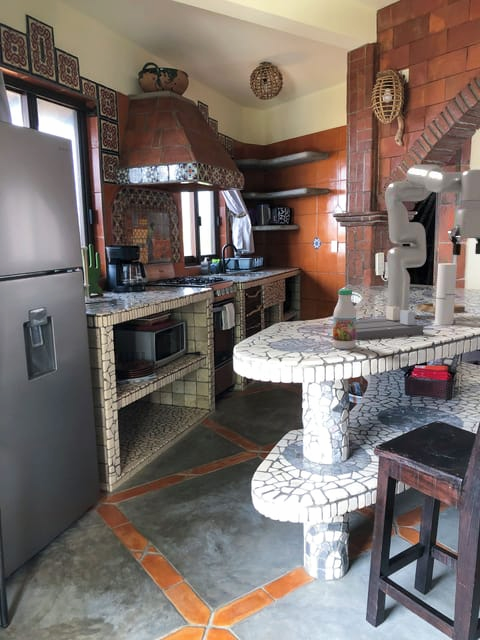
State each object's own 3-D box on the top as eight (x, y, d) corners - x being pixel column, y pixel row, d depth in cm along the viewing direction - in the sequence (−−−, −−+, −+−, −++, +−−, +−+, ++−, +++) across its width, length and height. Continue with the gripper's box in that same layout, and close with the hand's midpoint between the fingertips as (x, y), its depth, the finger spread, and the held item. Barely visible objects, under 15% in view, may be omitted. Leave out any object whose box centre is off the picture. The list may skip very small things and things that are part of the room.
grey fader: (399, 322, 183) (400, 309, 182) (406, 322, 183) (407, 309, 182) (407, 325, 178) (408, 311, 177) (414, 324, 179) (415, 311, 178)
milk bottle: (330, 344, 165) (330, 288, 161) (351, 343, 165) (352, 287, 162) (336, 350, 157) (337, 291, 153) (358, 349, 158) (360, 290, 154)
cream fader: (385, 318, 192) (386, 305, 191) (392, 317, 193) (392, 305, 192) (392, 320, 187) (393, 307, 186) (399, 320, 188) (399, 307, 187)
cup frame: (417, 308, 233) (417, 304, 232) (443, 307, 237) (443, 302, 236) (437, 313, 219) (437, 308, 218) (464, 311, 222) (464, 306, 222)
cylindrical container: (455, 325, 193) (459, 264, 188) (436, 324, 195) (440, 264, 190) (450, 321, 200) (454, 263, 195) (433, 321, 201) (436, 263, 197)
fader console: (333, 329, 189) (333, 322, 189) (394, 324, 196) (394, 317, 195) (356, 339, 171) (356, 331, 171) (422, 334, 178) (423, 326, 177)
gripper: (483, 206, 172) (480, 253, 175) (443, 207, 167) (440, 255, 170) (499, 205, 164) (495, 254, 168) (457, 205, 160) (454, 255, 163)
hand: (467, 254), depth 169 cm, fingers open, 9 cm apart
